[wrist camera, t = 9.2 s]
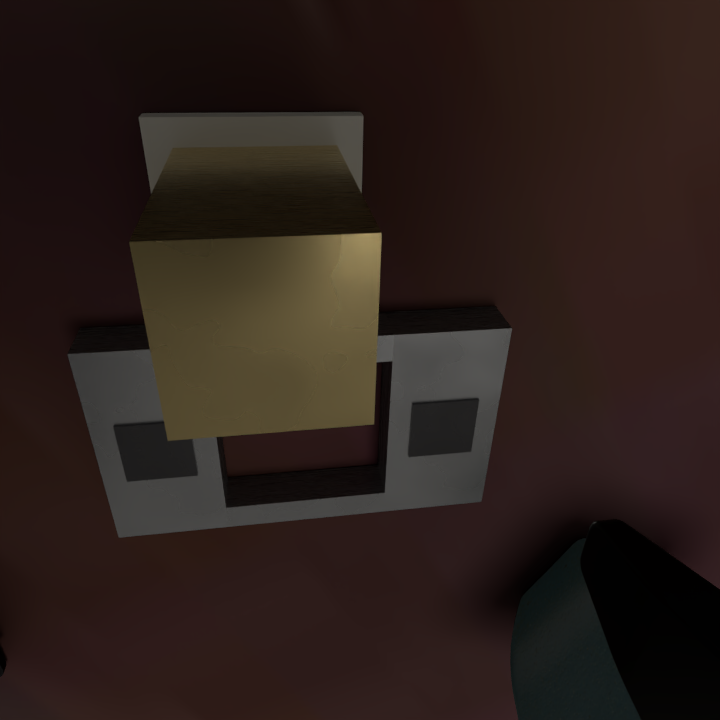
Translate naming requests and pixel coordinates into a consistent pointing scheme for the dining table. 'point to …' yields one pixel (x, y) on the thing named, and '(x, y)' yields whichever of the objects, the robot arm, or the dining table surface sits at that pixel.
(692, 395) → the dining table surface
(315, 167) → the brown wooden block
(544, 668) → the flower pot
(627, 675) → the robot arm
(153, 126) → the pad
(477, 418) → the grey flat frame
